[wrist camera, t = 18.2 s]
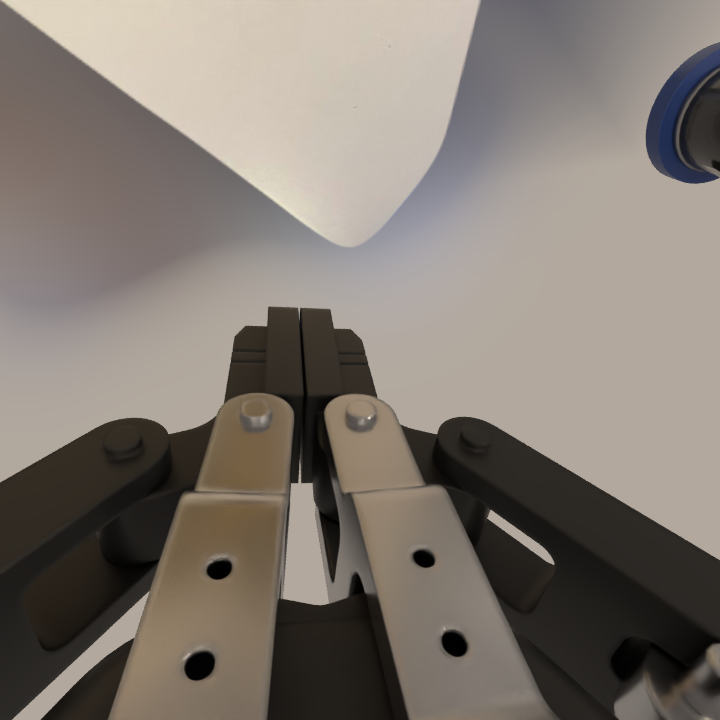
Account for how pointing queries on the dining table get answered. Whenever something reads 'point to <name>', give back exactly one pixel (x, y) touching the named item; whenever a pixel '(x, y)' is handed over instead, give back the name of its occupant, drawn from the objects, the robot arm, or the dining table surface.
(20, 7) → the dining table surface
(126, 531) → the robot arm
